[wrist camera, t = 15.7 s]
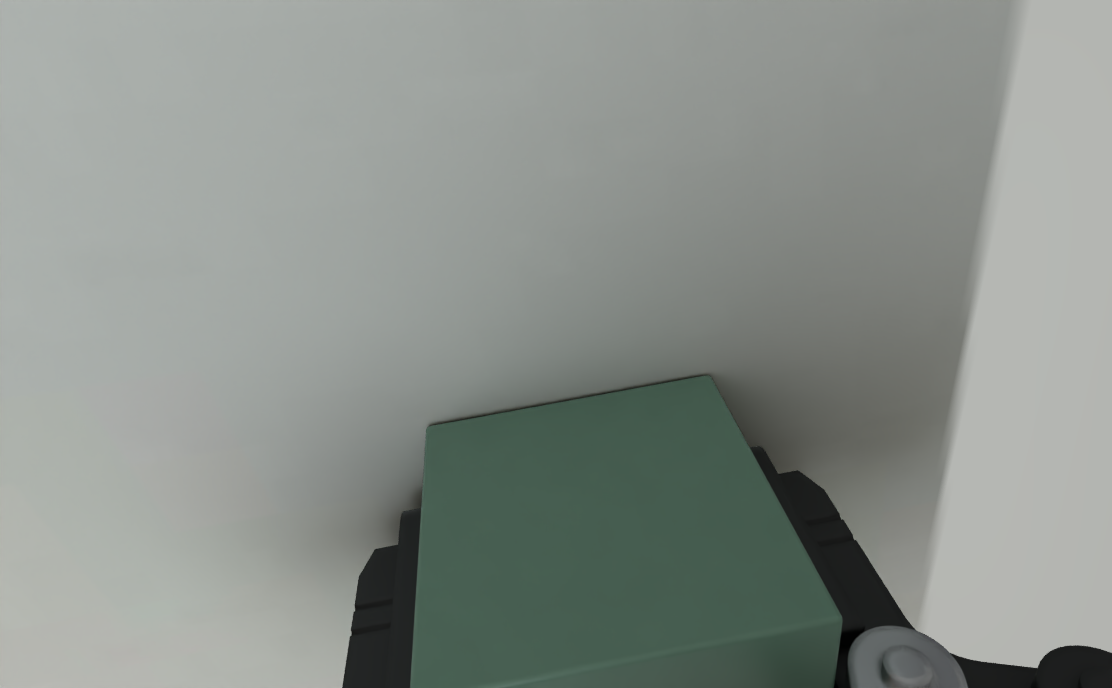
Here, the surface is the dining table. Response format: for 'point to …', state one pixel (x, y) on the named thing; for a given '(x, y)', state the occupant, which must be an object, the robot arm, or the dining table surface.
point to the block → (613, 553)
